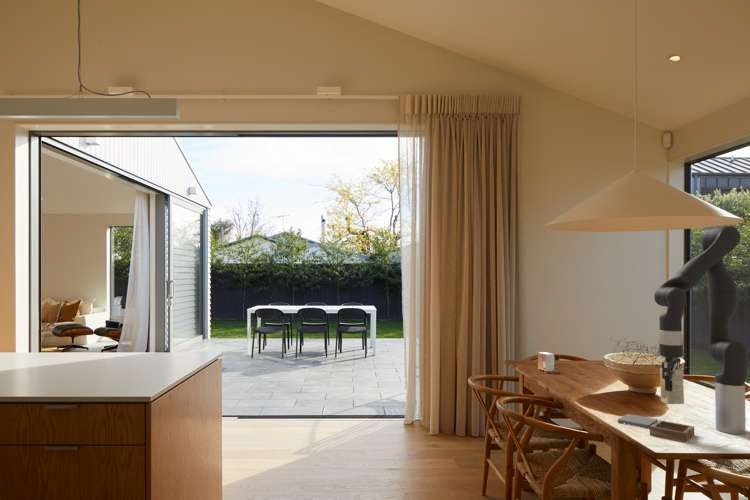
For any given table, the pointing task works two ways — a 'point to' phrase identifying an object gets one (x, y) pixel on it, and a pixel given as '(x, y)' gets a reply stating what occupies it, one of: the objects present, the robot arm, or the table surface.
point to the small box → (545, 361)
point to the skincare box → (673, 388)
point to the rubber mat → (637, 420)
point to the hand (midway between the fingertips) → (671, 389)
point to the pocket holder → (672, 431)
